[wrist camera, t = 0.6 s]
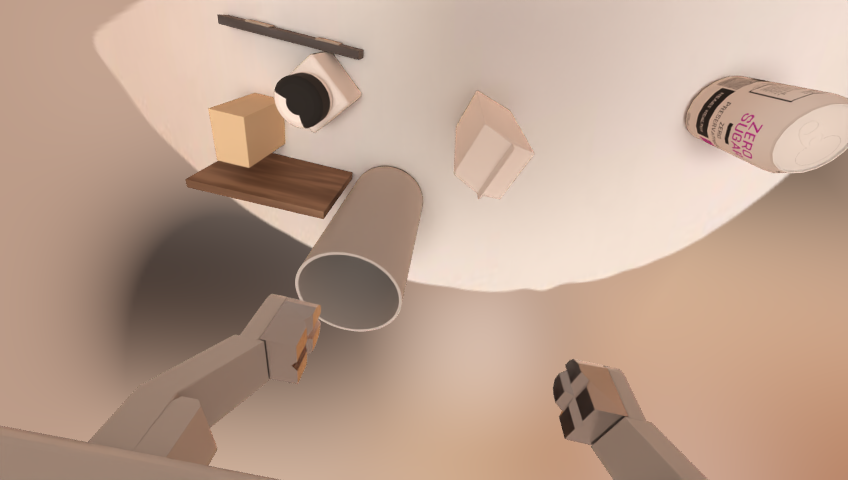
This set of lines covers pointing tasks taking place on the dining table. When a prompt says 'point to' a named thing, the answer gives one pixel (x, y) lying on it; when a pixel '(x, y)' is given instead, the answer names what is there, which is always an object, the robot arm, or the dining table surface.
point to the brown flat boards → (276, 174)
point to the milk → (489, 147)
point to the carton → (247, 129)
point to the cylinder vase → (365, 253)
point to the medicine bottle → (315, 92)
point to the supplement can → (771, 123)
